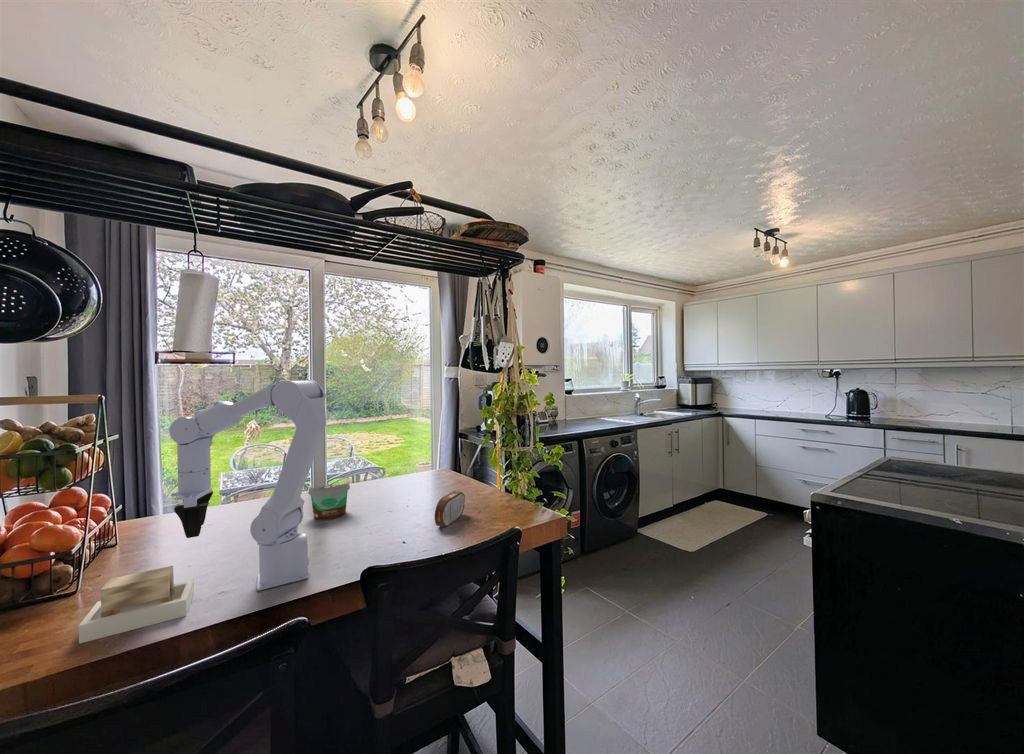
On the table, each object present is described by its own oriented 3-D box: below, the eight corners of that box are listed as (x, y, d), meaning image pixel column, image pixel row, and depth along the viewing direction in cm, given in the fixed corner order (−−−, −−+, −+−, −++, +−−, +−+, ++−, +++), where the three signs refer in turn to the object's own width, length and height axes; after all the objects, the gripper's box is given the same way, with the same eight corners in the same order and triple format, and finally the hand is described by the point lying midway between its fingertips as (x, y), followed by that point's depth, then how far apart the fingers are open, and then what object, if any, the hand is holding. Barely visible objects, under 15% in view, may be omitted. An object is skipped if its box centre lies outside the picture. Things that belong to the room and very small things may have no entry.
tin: (457, 513, 126) (457, 487, 126) (466, 514, 125) (466, 487, 125) (433, 530, 112) (433, 501, 112) (443, 532, 111) (442, 502, 111)
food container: (312, 524, 118) (311, 491, 118) (308, 518, 123) (308, 487, 123) (354, 515, 125) (354, 484, 125) (349, 510, 130) (349, 480, 130)
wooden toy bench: (101, 626, 68) (100, 589, 68) (110, 613, 72) (109, 578, 72) (168, 609, 73) (168, 575, 73) (173, 598, 77) (173, 565, 77)
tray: (193, 594, 80) (193, 579, 80) (186, 615, 73) (186, 599, 73) (97, 617, 73) (97, 601, 73) (79, 643, 66) (78, 625, 66)
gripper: (176, 466, 91) (177, 524, 91) (164, 479, 79) (165, 547, 79) (214, 462, 95) (215, 518, 95) (208, 474, 83) (209, 538, 83)
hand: (195, 530), depth 87 cm, fingers open, 7 cm apart
